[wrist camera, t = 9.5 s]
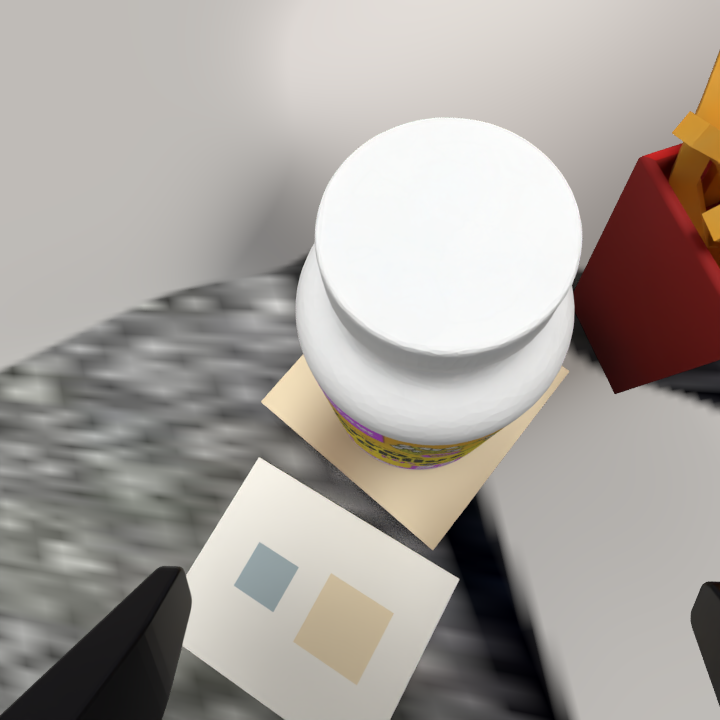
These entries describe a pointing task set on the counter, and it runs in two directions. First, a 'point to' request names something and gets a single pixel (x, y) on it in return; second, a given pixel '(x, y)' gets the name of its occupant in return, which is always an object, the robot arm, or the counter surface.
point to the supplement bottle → (439, 288)
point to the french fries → (660, 260)
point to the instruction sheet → (311, 603)
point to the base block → (388, 483)
